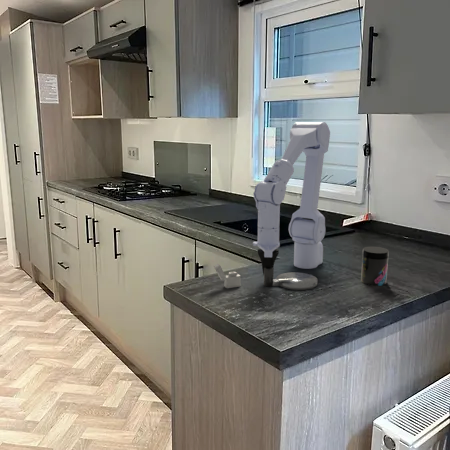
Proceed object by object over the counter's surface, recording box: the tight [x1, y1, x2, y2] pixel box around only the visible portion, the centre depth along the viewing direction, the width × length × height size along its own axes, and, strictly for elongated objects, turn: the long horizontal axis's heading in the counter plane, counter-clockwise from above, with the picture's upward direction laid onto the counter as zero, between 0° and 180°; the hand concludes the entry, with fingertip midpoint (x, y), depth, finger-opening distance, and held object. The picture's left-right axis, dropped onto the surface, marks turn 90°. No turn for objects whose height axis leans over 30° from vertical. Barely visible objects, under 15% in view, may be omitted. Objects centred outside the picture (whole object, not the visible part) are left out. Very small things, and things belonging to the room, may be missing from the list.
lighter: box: [213, 263, 242, 289], centre depth 122 cm, size 7×2×8 cm, turn 112°
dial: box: [263, 267, 318, 291], centre depth 124 cm, size 15×11×5 cm
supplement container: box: [360, 246, 390, 287], centre depth 125 cm, size 7×7×10 cm
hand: (267, 275), depth 125 cm, fingers closed
